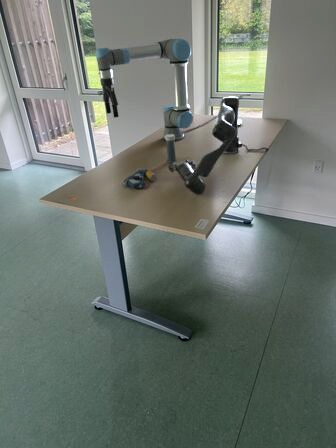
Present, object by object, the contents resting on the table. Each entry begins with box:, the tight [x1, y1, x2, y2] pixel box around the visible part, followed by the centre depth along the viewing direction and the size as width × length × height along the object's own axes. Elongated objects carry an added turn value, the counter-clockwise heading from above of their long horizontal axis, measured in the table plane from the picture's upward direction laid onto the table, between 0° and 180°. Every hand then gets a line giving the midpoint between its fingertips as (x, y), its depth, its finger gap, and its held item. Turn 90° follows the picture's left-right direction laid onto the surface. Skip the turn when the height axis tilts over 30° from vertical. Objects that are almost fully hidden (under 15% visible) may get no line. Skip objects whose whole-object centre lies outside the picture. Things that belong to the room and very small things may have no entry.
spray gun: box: [123, 167, 158, 189], centre depth 183 cm, size 21×4×15 cm
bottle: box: [165, 140, 177, 163], centre depth 205 cm, size 5×5×15 cm
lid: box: [164, 134, 175, 141], centre depth 201 cm, size 6×6×2 cm
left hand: (112, 115), depth 206 cm, fingers open, 13 cm apart
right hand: (179, 162), depth 189 cm, fingers open, 8 cm apart
